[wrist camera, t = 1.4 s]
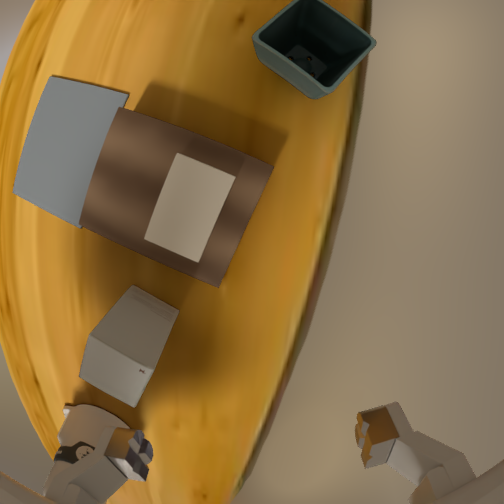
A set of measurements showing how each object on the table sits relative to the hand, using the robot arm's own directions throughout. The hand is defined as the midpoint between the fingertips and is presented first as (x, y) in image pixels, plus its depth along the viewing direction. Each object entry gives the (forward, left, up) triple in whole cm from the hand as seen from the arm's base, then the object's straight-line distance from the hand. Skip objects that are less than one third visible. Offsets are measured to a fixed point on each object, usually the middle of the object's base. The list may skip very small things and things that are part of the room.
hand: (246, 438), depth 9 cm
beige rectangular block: (+3, +7, -22) cm, 23 cm away
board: (+3, +10, -26) cm, 28 cm away
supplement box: (-14, +8, -26) cm, 31 cm away
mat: (+3, +28, -26) cm, 38 cm away
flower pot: (+23, +3, -26) cm, 35 cm away
